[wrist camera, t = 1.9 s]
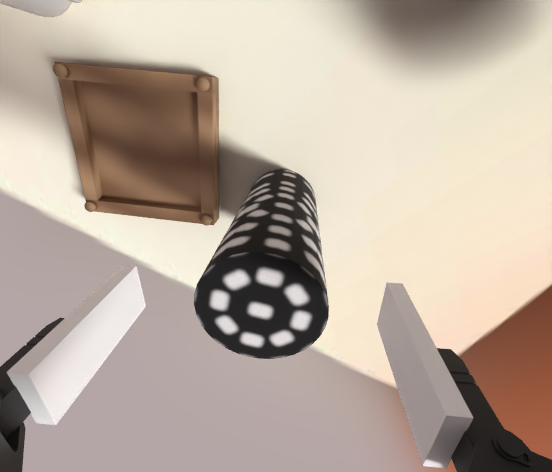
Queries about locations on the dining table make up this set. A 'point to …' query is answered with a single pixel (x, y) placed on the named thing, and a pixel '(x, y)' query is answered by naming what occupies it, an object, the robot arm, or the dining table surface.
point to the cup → (41, 6)
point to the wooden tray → (144, 141)
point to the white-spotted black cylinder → (267, 273)
